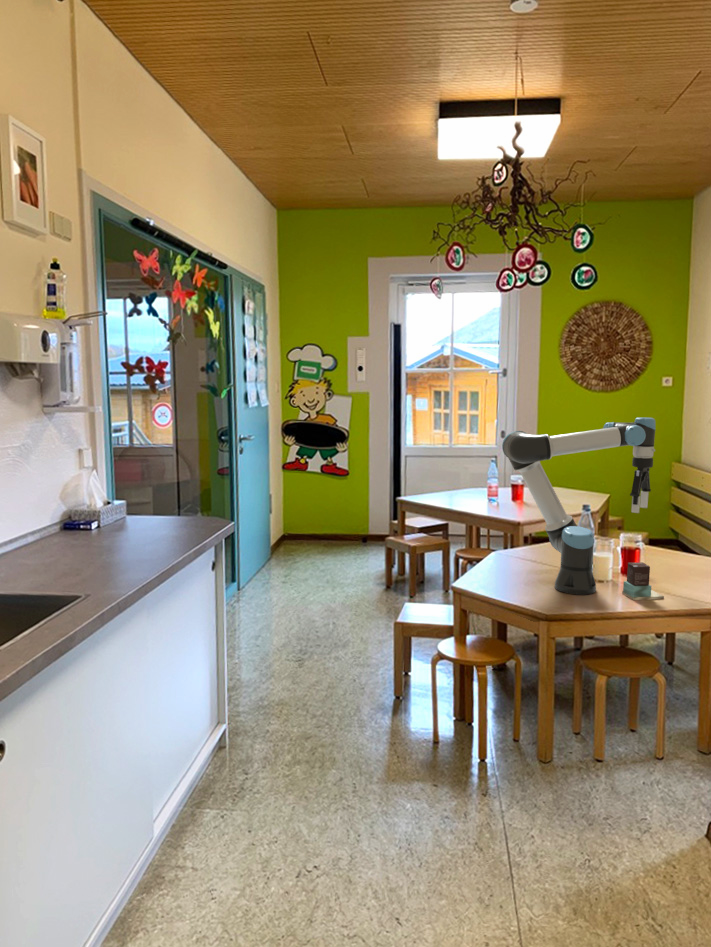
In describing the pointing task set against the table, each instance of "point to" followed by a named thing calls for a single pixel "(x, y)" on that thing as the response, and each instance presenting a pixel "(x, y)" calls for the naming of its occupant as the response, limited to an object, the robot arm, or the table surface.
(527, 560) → the table surface
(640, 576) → the box
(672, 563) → the table surface
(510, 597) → the table surface
